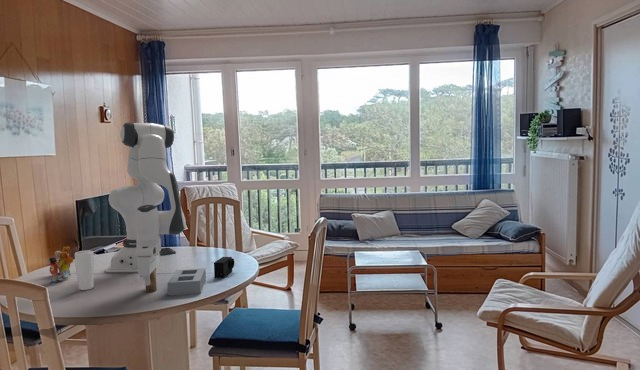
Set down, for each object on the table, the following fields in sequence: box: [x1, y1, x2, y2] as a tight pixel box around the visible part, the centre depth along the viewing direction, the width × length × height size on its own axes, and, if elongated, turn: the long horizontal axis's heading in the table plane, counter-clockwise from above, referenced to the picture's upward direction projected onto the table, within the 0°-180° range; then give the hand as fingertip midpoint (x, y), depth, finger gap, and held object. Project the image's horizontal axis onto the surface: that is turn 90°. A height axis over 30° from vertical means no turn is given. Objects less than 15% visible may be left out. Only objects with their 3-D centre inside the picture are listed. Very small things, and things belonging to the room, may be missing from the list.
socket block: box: [167, 267, 207, 296], centre depth 179 cm, size 12×18×5 cm, turn 8°
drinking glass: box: [74, 249, 95, 291], centre depth 180 cm, size 7×7×15 cm
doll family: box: [48, 246, 75, 285], centre depth 197 cm, size 21×10×13 cm, turn 22°
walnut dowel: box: [145, 269, 158, 293], centre depth 176 cm, size 4×4×8 cm
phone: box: [159, 247, 177, 257], centre depth 243 cm, size 8×1×15 cm
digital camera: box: [213, 256, 235, 279], centre depth 196 cm, size 10×5×7 cm, turn 170°
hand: (150, 281), depth 176 cm, fingers open, 8 cm apart
